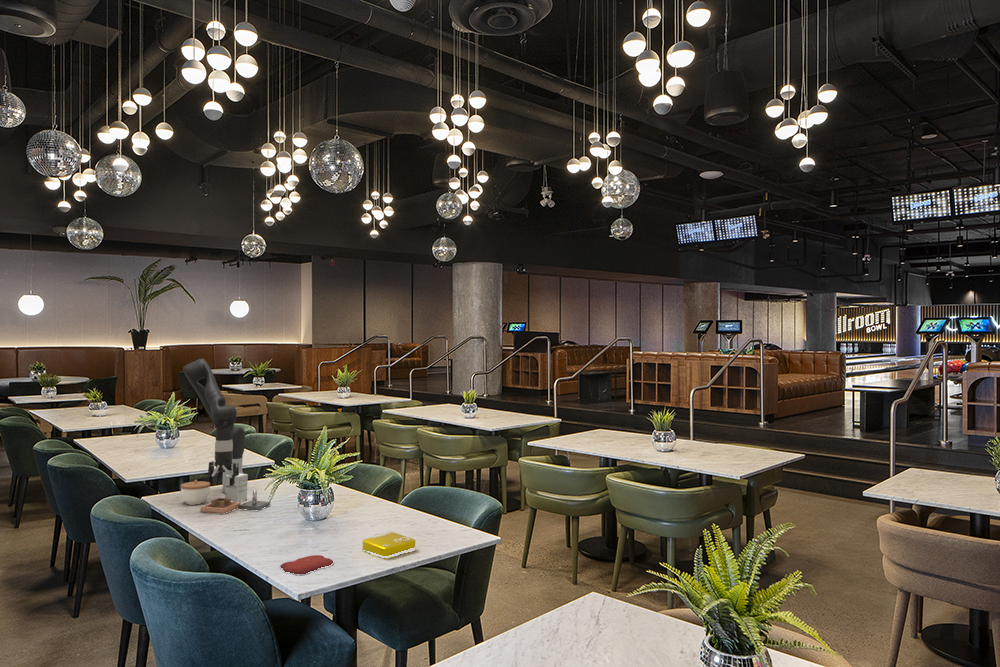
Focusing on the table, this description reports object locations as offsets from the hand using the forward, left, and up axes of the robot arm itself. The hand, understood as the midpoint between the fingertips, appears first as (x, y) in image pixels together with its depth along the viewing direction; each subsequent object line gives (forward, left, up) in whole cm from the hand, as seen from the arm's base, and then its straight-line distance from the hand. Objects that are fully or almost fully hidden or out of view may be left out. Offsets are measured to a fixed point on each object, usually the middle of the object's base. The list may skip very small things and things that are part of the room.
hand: (223, 485), depth 288 cm
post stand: (-7, +11, -11) cm, 18 cm away
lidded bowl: (-7, -21, -12) cm, 25 cm away
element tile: (+33, +96, -12) cm, 102 cm away
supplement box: (-17, -6, -12) cm, 22 cm away
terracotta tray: (+1, -1, -11) cm, 11 cm away
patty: (+56, +75, -12) cm, 95 cm away
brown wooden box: (+1, -1, -11) cm, 11 cm away
